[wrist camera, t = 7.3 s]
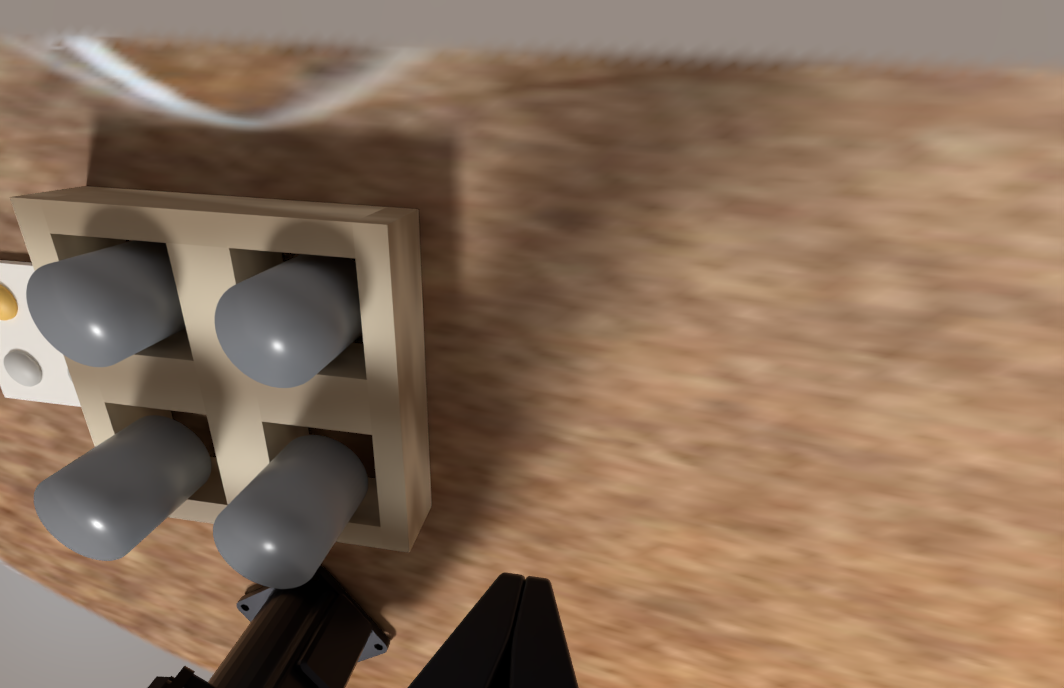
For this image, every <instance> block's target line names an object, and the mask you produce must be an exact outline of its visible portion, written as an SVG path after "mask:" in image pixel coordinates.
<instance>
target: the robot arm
mask: <svg viewBox="0 0 1064 688" xmlns="http://www.w3.org/2000/svg"><path fill="white" fill-rule="evenodd" d="M237 608H238V610H239V611H240V612H241V613H242V614H243V615H244V616H245V617H246V618H247V619H248V620H249V621H250V622H251V623H250V624H249V626H248V627H247V628H246V630H245V631H244V633H243V634H242V635H241V637H240V638H239V640H238V641H237V642H236V644H235V645H234V647H233V648H232V649H231V651H230V652H229V654H228V655H227V656H226V658H225V659H224V661H223V662H222V663H221V665H220V666H219V667H218V669H217V670H216V672H215V673H214V674H213V676H212V677H211V679H210V680H209V681H208V682H206V681H205V680H203V679H201V678H200V677H198V676H196V675H195V674H193V673H194V671H193V670H191V669H190V668H188V667H186V666H184V667H183V668H182V670H181V671H180V672H179V673H178V675H177V676H176V677H175V678H174V677H172V676H171V677H156V678H155V679H154V681H153V682H152V683H151V684H150V686H149V687H148V688H345V687H346V685H347V683H348V681H349V678H350V676H351V674H352V672H353V670H354V668H355V666H356V664H357V662H360V661H363V660H365V659H368V658H371V657H374V656H377V655H380V654H383V653H385V652H386V651H387V649H388V647H389V645H390V640H389V639H388V637H387V636H386V635H385V634H384V633H383V632H382V631H381V630H380V629H379V627H378V626H377V625H376V624H375V623H374V622H373V621H372V620H371V619H370V618H369V617H368V615H367V614H366V613H365V612H364V611H363V610H362V609H361V608H360V607H359V606H358V604H357V603H356V602H355V601H354V600H353V599H352V598H351V597H350V596H349V595H348V593H347V592H346V591H345V590H344V589H343V588H342V587H341V586H340V585H339V584H338V582H337V581H336V580H335V579H334V578H333V577H332V576H331V575H330V574H329V573H328V572H327V570H326V569H325V568H323V567H322V566H319V568H318V569H317V571H316V572H315V574H314V575H313V577H312V578H311V579H310V580H309V581H308V582H306V583H305V584H303V585H301V586H298V587H295V588H289V589H277V588H271V587H266V586H264V587H262V588H260V589H257V590H255V591H253V592H251V593H248V594H246V595H244V596H242V597H241V599H240V600H239V601H238V603H237ZM408 688H578V684H577V680H576V676H575V672H574V669H573V665H572V661H571V657H570V653H569V650H568V646H567V642H566V638H565V634H564V631H563V627H562V623H561V619H560V615H559V612H558V608H557V604H556V600H555V596H554V593H553V589H552V585H551V582H550V581H549V580H548V579H546V578H540V577H533V576H528V577H527V578H526V580H525V577H524V576H523V575H519V574H512V573H502V574H500V575H499V576H498V578H497V579H496V580H495V581H494V582H493V584H492V585H491V586H490V587H489V589H488V590H487V591H486V592H485V594H484V595H483V596H482V597H481V598H480V600H479V601H478V602H477V603H476V605H475V606H474V607H473V608H472V609H471V611H470V612H469V613H468V614H467V616H466V617H465V618H464V619H463V620H462V622H461V623H460V624H459V625H458V627H457V628H456V629H455V630H454V631H453V633H452V634H451V635H450V636H449V638H448V639H447V640H446V641H445V642H444V644H443V645H442V646H441V647H440V649H439V650H438V651H437V652H436V653H435V655H434V656H433V657H432V658H431V660H430V661H429V662H428V663H427V665H426V666H425V667H424V668H423V669H422V671H421V672H420V673H419V674H418V676H417V677H416V678H415V679H414V680H413V682H412V683H411V684H410V685H409V687H408Z"/></svg>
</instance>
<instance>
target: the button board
mask: <svg viewBox="0 0 1064 688" xmlns="http://www.w3.org/2000/svg"><path fill="white" fill-rule="evenodd" d="M10 200H11V203H12V206H13V209H14V212H15V215H16V218H17V221H18V224H19V227H20V230H21V233H22V235H23V238H24V241H25V244H26V247H27V250H28V253H29V256H30V259H31V262H32V265H33V268H34V271H35V270H37V269H38V268H39V267H41V266H43V265H46V264H49V263H53V262H57V261H60V260H64V259H68V258H71V257H75V256H78V255H82V254H86V253H89V252H93V251H97V250H100V249H104V248H108V247H111V246H115V245H119V244H122V243H126V240H137V241H149V242H162V243H166V245H167V250H168V254H169V258H170V262H171V267H172V271H173V275H174V279H175V283H176V288H177V292H178V296H179V300H180V305H181V309H182V313H183V317H184V322H185V326H186V328H185V329H183V330H181V331H179V332H177V333H175V334H173V335H171V336H169V337H167V338H165V339H163V340H161V341H159V342H157V343H155V344H153V345H151V346H149V347H148V348H146V349H144V350H142V351H140V352H138V353H136V354H134V355H132V356H130V357H128V358H126V359H124V360H122V361H120V362H118V363H116V364H114V365H112V366H108V367H91V366H87V365H83V364H80V363H78V362H75V361H73V360H71V359H70V358H68V357H66V356H65V355H64V358H65V361H66V364H67V367H68V370H69V373H70V376H71V379H72V382H73V385H74V388H75V390H76V393H77V396H78V399H79V402H80V405H81V408H82V411H83V414H84V417H85V420H86V423H87V426H88V428H89V431H90V434H91V437H92V440H93V443H94V446H95V447H96V446H98V445H99V444H101V443H102V442H104V441H105V440H107V439H108V438H110V437H112V436H113V435H115V434H116V433H118V432H119V431H121V430H122V429H124V428H125V427H127V426H129V425H130V424H132V423H133V422H135V421H136V420H138V419H139V418H142V417H145V416H150V415H158V416H164V417H168V418H171V419H173V417H172V413H171V410H172V411H180V412H188V413H197V414H205V415H207V419H208V423H209V428H210V432H211V436H212V440H213V445H214V449H215V453H216V457H217V458H216V457H210V459H211V474H210V477H209V479H208V480H207V482H206V483H205V484H204V485H203V486H201V487H200V488H199V489H198V490H197V491H196V492H195V493H194V494H193V495H192V496H190V497H189V498H188V499H187V500H186V501H185V502H184V503H183V504H182V505H180V506H179V507H178V508H177V509H176V510H175V511H174V512H173V513H172V514H171V515H169V516H168V517H171V518H178V519H185V520H191V521H198V522H205V523H212V524H214V522H215V519H216V518H217V516H218V515H219V514H220V513H221V511H222V510H223V509H224V508H225V507H226V506H227V505H228V504H229V503H230V502H231V501H232V500H233V499H234V498H235V497H236V496H237V495H238V494H239V493H240V492H241V491H242V490H243V489H244V488H245V487H246V486H247V485H248V484H249V483H250V482H251V481H252V480H253V479H254V478H255V477H256V476H257V475H258V474H259V473H260V472H261V471H262V470H263V469H264V468H265V467H266V466H267V465H268V464H269V463H270V462H271V461H272V460H273V459H274V458H275V457H276V456H277V455H278V454H279V453H280V452H281V451H282V450H283V449H284V448H285V447H286V446H287V445H288V444H289V443H290V442H291V441H292V440H294V439H296V438H298V437H301V436H305V435H309V430H308V427H312V428H320V429H328V430H336V431H345V432H353V433H361V434H369V435H372V439H373V450H374V461H375V471H376V478H368V490H367V493H366V495H365V497H364V499H363V501H362V502H361V504H360V505H359V507H358V508H357V510H356V511H355V513H354V514H353V516H352V517H351V519H350V520H349V522H348V523H347V525H346V526H345V528H344V530H343V531H342V533H341V534H340V536H339V537H338V539H337V540H336V542H340V543H347V544H354V545H361V546H368V547H374V548H381V549H388V550H395V551H401V552H408V553H410V551H411V549H412V546H413V544H414V542H415V540H416V538H417V536H418V534H419V532H420V530H421V527H422V525H423V523H424V521H425V519H426V517H427V515H428V513H429V511H430V508H431V506H432V503H431V480H430V457H429V435H428V412H427V389H426V367H425V344H424V321H423V299H422V276H421V253H420V231H419V209H410V208H396V207H381V206H367V205H352V204H338V203H323V202H309V201H294V200H280V199H265V198H251V197H236V196H222V195H207V194H193V193H178V192H164V191H149V190H135V189H120V188H106V187H91V186H82V187H76V188H69V189H62V190H55V191H49V192H42V193H35V194H28V195H21V196H15V197H10ZM282 252H285V253H297V254H309V255H322V256H334V257H346V258H356V269H357V280H358V290H359V301H360V312H361V322H362V333H363V344H359V343H352V344H350V345H349V346H348V347H347V348H346V349H345V350H344V351H342V352H341V353H340V354H339V355H338V356H337V357H336V358H334V359H333V360H332V361H331V362H330V363H329V364H328V365H326V366H325V367H324V368H323V369H322V370H321V371H320V372H319V373H317V374H316V375H315V376H314V377H313V378H312V379H310V380H309V381H308V382H306V383H304V384H302V385H299V386H296V387H292V388H276V387H271V386H267V385H264V384H262V383H259V382H257V381H255V380H253V379H251V378H250V377H248V376H247V375H245V374H244V373H243V372H241V371H240V370H239V369H238V368H237V367H236V366H235V365H234V364H233V363H232V362H231V361H230V359H229V358H228V357H227V355H226V354H225V352H224V351H223V349H222V347H221V345H220V343H219V340H218V338H217V334H216V330H215V318H214V317H215V310H216V307H217V304H218V302H219V299H220V298H221V296H222V295H223V294H224V293H225V292H226V291H227V290H228V289H229V288H230V287H232V286H233V285H236V284H238V283H240V282H242V281H244V280H246V279H249V278H251V277H253V276H255V275H257V274H259V273H262V272H264V271H266V270H268V269H270V268H272V267H275V266H277V265H279V264H281V263H283V256H282Z"/></svg>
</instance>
